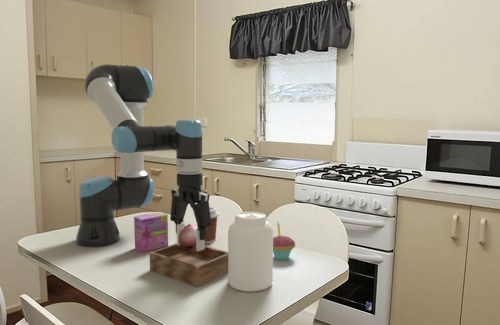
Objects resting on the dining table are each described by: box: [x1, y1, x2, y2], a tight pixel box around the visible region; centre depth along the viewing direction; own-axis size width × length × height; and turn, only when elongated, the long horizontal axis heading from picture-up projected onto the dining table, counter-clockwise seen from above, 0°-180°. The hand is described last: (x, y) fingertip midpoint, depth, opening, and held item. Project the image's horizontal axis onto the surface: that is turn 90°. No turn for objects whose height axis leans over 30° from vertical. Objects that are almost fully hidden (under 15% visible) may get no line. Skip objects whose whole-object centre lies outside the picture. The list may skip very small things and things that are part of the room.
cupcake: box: [273, 220, 296, 261], centre depth 134 cm, size 9×8×12 cm
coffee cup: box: [196, 206, 220, 244], centre depth 151 cm, size 9×9×12 cm
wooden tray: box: [149, 242, 228, 288], centre depth 123 cm, size 20×15×6 cm
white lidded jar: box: [227, 211, 274, 293], centre depth 113 cm, size 12×12×20 cm
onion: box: [179, 223, 198, 249], centre depth 122 cm, size 8×8×7 cm
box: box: [133, 211, 169, 253], centre depth 143 cm, size 10×6×12 cm, turn 131°
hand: (190, 247), depth 122 cm, fingers closed on onion, 8 cm apart
